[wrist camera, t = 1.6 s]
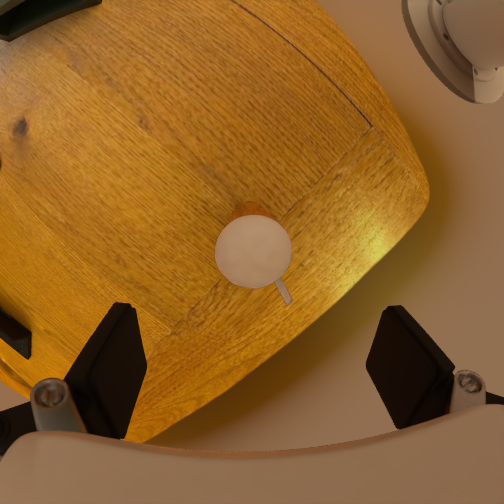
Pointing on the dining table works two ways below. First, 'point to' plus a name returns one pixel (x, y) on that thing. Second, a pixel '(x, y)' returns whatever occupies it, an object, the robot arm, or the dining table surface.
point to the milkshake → (254, 249)
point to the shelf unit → (34, 14)
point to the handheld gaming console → (15, 335)
